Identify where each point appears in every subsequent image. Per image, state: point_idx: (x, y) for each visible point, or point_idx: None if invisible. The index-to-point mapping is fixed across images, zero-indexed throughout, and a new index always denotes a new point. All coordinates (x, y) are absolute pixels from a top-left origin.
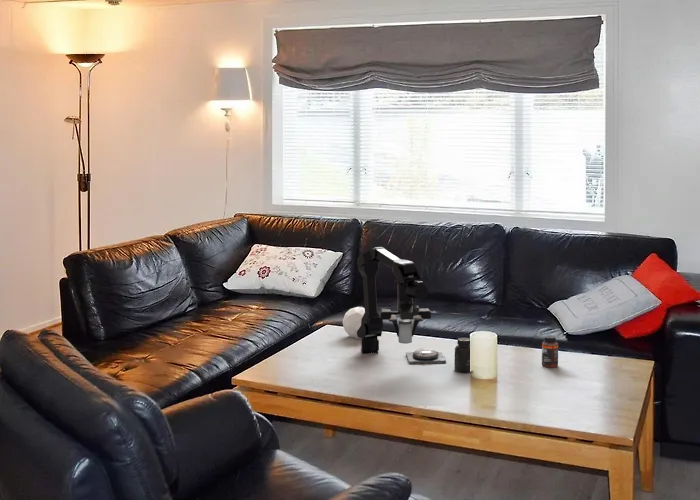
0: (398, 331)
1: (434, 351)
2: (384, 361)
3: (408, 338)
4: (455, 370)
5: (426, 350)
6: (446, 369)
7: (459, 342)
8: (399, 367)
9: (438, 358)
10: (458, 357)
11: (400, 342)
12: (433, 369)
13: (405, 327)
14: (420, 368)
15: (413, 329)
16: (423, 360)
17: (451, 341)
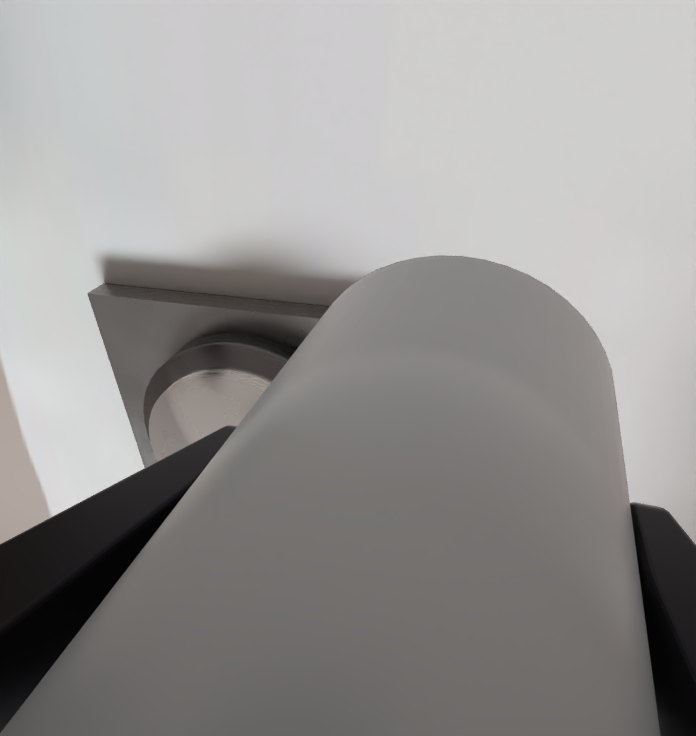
0: (678, 644)
1: (165, 444)
2: (689, 450)
3: (353, 319)
4: None
5: None
6: (64, 70)
7: None
8: (578, 210)
9: (154, 359)
10: None
11: (590, 335)
12: (188, 81)
13: (314, 673)
14: (328, 137)
15: (76, 546)
16: (280, 331)
17: None
